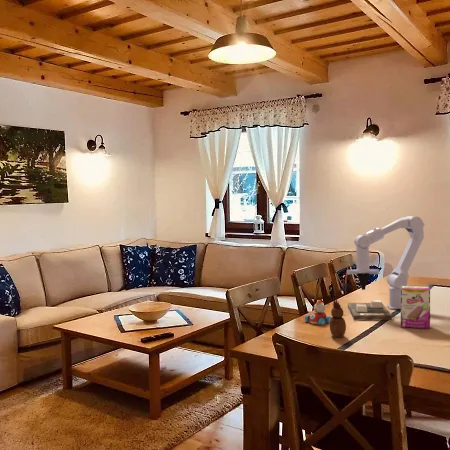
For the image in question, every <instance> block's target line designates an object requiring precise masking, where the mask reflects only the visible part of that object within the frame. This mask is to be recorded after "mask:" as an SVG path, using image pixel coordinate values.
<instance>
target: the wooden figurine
mask: <svg viewBox="0 0 450 450" xmlns="http://www.w3.org/2000/svg"><path fill="white" fill-rule="evenodd" d="M332 298H333V299H332V301H333V302H332V303H333V305H332V306H333V307H332V308H331V313H330V314H331V316H330V317H331V319H330V323H329V331H330V334H331V336H332V337H334V338H342V337H344V336H345V334H346V331H347V324H346V320H345V319H344V310H343V308H342V307H341V304H340V303H339V301H338V299H337V298H336V299H335V296H334V297H332Z"/></svg>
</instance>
